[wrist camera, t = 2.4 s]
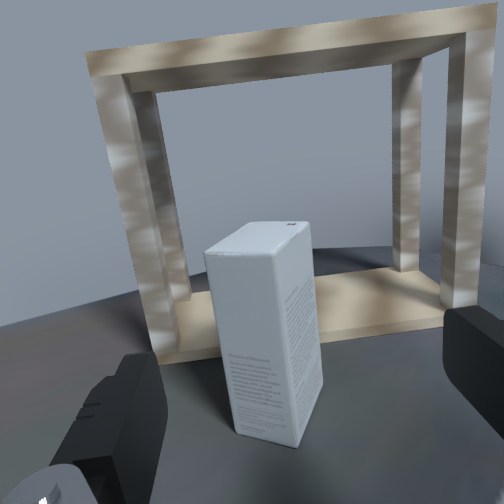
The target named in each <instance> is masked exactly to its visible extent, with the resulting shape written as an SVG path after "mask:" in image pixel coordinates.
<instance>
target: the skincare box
mask: <svg viewBox="0 0 504 504" xmlns="http://www.w3.org/2000/svg"><path fill="white" fill-rule="evenodd" d="M204 259H205V265H206V270H207V276H208V282H209V287H210V293H211V298H212V304H213V310H214V315H215V321H216V327H217V332H218V338H219V344H220V349H221V355H222V360H223V366H224V371H225V377H226V383H227V388H228V394H229V400H230V406H231V411H232V416H233V422H234V427H235V431H236V432H237V433H238V434H241V435H245V436H249V437H253V438H257V439H261V440H265V441H269V442H273V443H277V444H281V445H284V446H288V447H292V448H297V447H298V446H299V443H300V441H301V438H302V436H303V433H304V431H305V428H306V426H307V423H308V421H309V418H310V416H311V413H312V411H313V408H314V405H315V403H316V400H317V398H318V395H319V393H320V390H321V388H322V386H323V376H322V363H321V351H320V339H319V329H318V317H317V305H316V292H315V280H314V268H313V255H312V243H311V233H310V224H309V222H303V221H299V222H249V223H247V224H246V225H245V226H243V227H242V228H240V229H239V230H237V231H236V232H234V233H233V234H231V235H229V236H228V237H226V238H224V239H223V240H221V241H220V242H218V243H217V244H215V245H214V246H212V247H211V248H209V249H207V250H206V251H205V252H204Z"/></svg>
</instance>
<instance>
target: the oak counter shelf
mask: <svg viewBox="0 0 504 504" xmlns="http://www.w3.org/2000/svg"><path fill="white" fill-rule="evenodd" d="M497 4H498V3H489V4H481V5H473V6H464V7H456V8H448V9H439V10H431V11H422V12H414V13H406V14H397V15H389V16H381V17H372V18H364V19H356V20H347V21H340V22H331V23H322V24H314V25H306V26H298V27H289V28H281V29H273V30H264V31H256V32H247V33H240V34H231V35H223V36H214V37H206V38H197V39H189V40H181V41H172V42H164V43H156V44H147V45H139V46H132V47H122V48H114V49H106V50H97V51H89V52H85V56H86V60H87V65H88V69H89V73H90V78H91V82H92V86H93V91H94V95H95V100H96V104H97V108H98V113H99V117H100V121H101V126H102V130H103V134H104V138H105V143H106V147H107V152H108V156H109V161H110V165H111V170H112V174H113V178H114V183H115V187H116V191H117V195H118V200H119V204H120V208H121V213H122V218H123V222H124V226H125V231H126V235H127V239H128V243H129V248H130V253H131V257H132V261H133V266H134V270H135V274H136V278H137V283H138V287H139V292H140V296H141V301H142V305H143V309H144V314H145V318H146V322H147V327H148V331H149V336H150V340H151V344H152V349H153V351H154V353H155V354H156V357H157V360H158V365H166V364H173V363H181V362H188V361H195V360H203V359H210V358H217V357H222V355H221V349H220V344H219V338H218V332H217V327H216V321H215V315H214V310H213V304H212V298H211V293H210V291H206V292H198V293H192V290H191V285H190V280H189V274H188V269H187V263H186V258H185V252H184V247H183V241H182V236H181V230H180V225H179V219H178V214H177V208H176V203H175V197H174V193H173V187H172V181H171V176H170V170H169V165H168V159H167V154H166V149H165V144H164V137H163V132H162V127H161V121H160V116H159V110H158V105H157V99H156V94H155V93H161V92H169V91H177V90H186V89H193V88H202V87H210V86H218V85H226V84H234V83H242V82H250V81H259V80H267V79H275V78H283V77H292V76H300V75H308V74H316V73H324V72H332V71H340V70H349V69H357V68H365V67H372V66H381V65H389V64H392V176H393V177H392V180H393V181H392V183H393V186H392V189H393V190H392V192H393V267H386V268H378V269H371V270H363V271H356V272H348V273H341V274H333V275H326V276H318V277H314V280H315V292H316V305H317V317H318V329H319V339H320V343H327V342H334V341H341V340H349V339H356V338H363V337H370V336H378V335H385V334H392V333H400V332H407V331H414V330H422V329H429V328H436V327H443V318H444V313H445V311H446V310H447V309H451V308H458V307H465V306H472V305H477V293H478V278H479V264H480V249H481V235H482V220H483V206H484V192H485V177H486V162H487V148H488V147H487V146H488V134H489V119H490V105H491V91H492V90H491V89H492V76H493V61H494V47H495V33H496V18H497ZM448 47H449V70H448V96H447V97H448V98H447V123H446V151H445V179H444V206H443V207H444V208H443V233H442V260H441V286H440V285H438V284H437V283H436V282H434V281H433V280H432V279H430V278H429V277H427V276H426V275H425V274H423V273H422V272H420V271H419V217H420V214H419V213H420V158H421V155H420V154H421V99H422V95H421V94H422V58H423V57H425V56H427V55H430V54H432V53H435V52H438V51H440V50H443V49H445V48H448Z"/></svg>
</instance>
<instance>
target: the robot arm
mask: <svg viewBox="0 0 504 504" xmlns="http://www.w3.org/2000/svg"><path fill="white" fill-rule="evenodd" d="M443 365H444V369H445V372H446V374H447V376H448V378H449V380H450V381H451V383H452V384H453V385H454V386H455V387H456V388H457V389H458V390H459V391H460V392H461V394H462V395H463V396H464V397H465V398H466V399H467V400H468V401H469V402H470V403H471V404H472V406H473V407H474V408H475V409H476V410H477V411H478V412H479V413H480V414H481V415H482V416H483V418H484V419H485V420H486V421H487V422H488V423H489V424H490V425H491V426H492V427H493V428H494V430H495V431H496V432H497V433H498V434H499V435H500V436H501V437H502V438H503V439H504V321H503V320H500V319H498V318H496V317H495V316H493V315H492V314H490V313H489V312H487V311H486V310H484V309H483V308H481V307H480V306H478V305H472V306H465V307H458V308H451V309H447V310H446V311H445V313H444V318H443ZM167 418H168V408H167V399H166V395H165V391H164V386H163V382H162V378H161V373H160V369H159V365H158V360H157V357H156V354H155V353H154V351H149V352H142V353H135V354H128V355H125V356H124V357H123V359H122V361H121V363H120V365H119V367H118V369H117V371H116V373H115V375H113V376H106V377H105V378H104V379H103V380H102V381H101V382H100V383H98V384H97V385H96V386H95V387H94V388H93V389H92V390H91V391H90V393H89V395H88V397H87V398H86V400H85V402H84V404H83V408H81V409H80V411H79V413H78V415H77V416H76V421H74V422H73V424H72V425H71V427H70V429H69V431H68V433H67V434H66V436H65V438H64V440H63V441H62V443H61V445H60V447H59V449H58V450H57V452H56V454H55V456H54V458H53V459H52V461H51V463H50V465H49V467H46V468H44V469H41V470H39V471H37V472H35V473H33V474H32V475H30V476H29V477H27V478H26V479H24V480H23V481H22V482H20V483H19V484H18V485H17V486H16V487H14V488H13V489H12V490H11V492H10V493H9V494H8V495H7V496H6V497H5V499H4V500H3V501H2V503H1V504H149V501H150V497H151V493H152V488H153V484H154V479H155V475H156V470H157V466H158V461H159V457H160V452H161V448H162V443H163V439H164V434H165V430H166V425H167Z"/></svg>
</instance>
